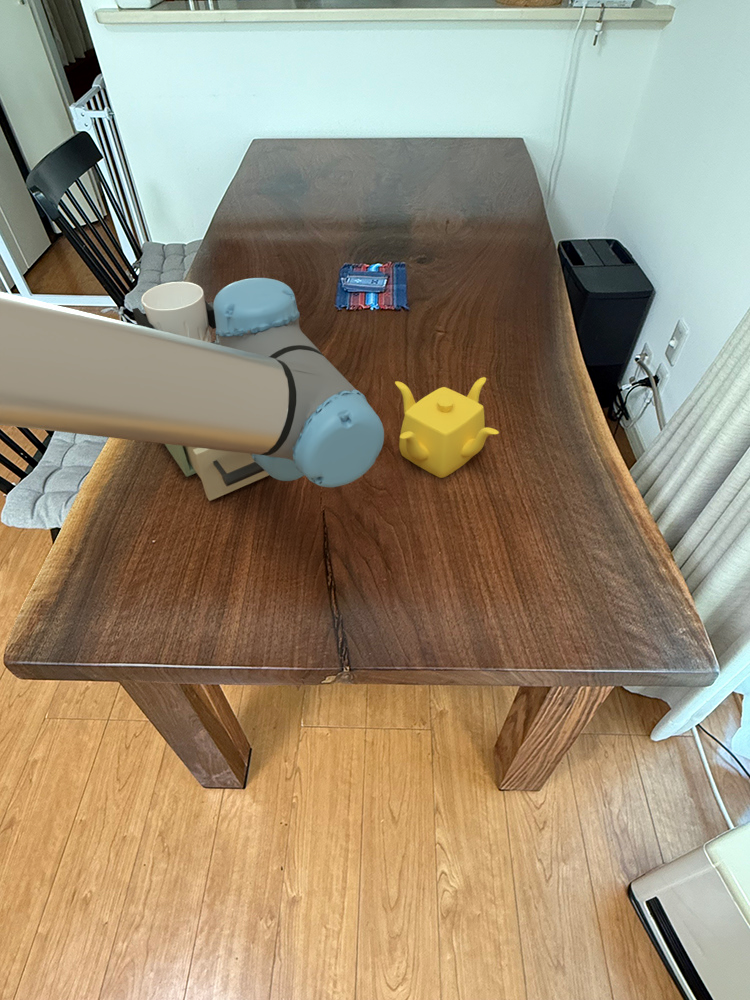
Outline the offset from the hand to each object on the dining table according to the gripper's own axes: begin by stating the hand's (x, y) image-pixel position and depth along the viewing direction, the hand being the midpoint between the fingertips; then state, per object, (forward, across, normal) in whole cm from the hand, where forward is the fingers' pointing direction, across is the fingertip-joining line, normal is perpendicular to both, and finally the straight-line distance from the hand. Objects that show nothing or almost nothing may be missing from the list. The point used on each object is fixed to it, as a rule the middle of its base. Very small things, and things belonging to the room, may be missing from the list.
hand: (167, 309), depth 83 cm
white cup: (-5, 0, -6) cm, 8 cm away
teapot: (-27, +29, -21) cm, 45 cm away
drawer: (-13, 0, -20) cm, 24 cm away
